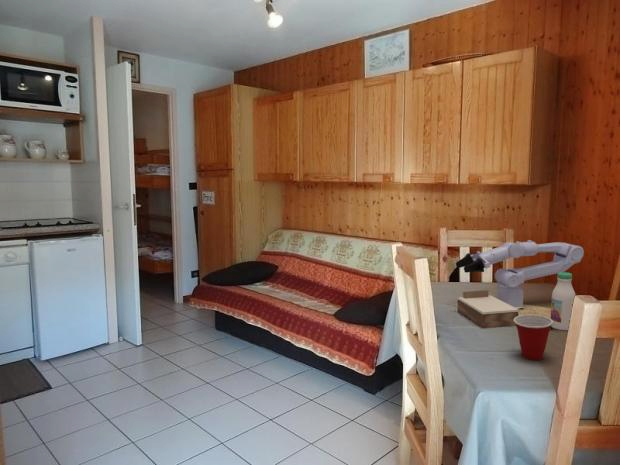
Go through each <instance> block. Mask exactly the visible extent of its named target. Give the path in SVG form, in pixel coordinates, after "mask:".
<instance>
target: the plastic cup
mask: <svg viewBox="0 0 620 465" xmlns="http://www.w3.org/2000/svg"><path fill="white" fill-rule="evenodd" d="M514 322H515V324H516V326H515V327H516V329H517V334H518V341H519V346H520V353H521V356H522V357H523V358H525V359H528V360H532V361H539V360H543V357H544V355H545V350H546V349H547V348H546V347H547V342H548V338H549V333H550V330H551V328H552V327H551V325H552V324H553V320H552V319H551V317H548V316H545V315H541V314H530V313H529V314H522V315H519V316H517V317H515V318H514Z"/></svg>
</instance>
